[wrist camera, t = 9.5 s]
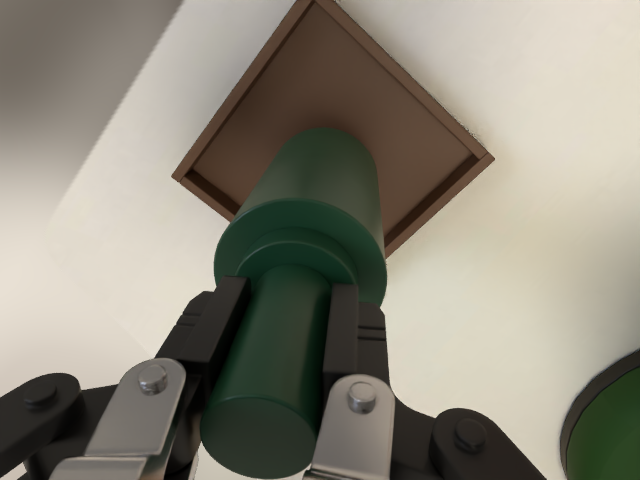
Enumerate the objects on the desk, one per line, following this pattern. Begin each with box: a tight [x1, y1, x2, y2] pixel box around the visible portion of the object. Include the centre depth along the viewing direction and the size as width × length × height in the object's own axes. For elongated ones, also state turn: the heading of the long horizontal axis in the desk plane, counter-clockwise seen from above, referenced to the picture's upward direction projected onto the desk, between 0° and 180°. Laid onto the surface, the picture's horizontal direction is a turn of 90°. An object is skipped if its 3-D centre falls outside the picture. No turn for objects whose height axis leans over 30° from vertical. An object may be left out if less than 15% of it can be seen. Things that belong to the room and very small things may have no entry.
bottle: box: [199, 127, 387, 479], centre depth 16 cm, size 6×6×16 cm
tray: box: [171, 0, 495, 259], centre depth 26 cm, size 13×13×2 cm
